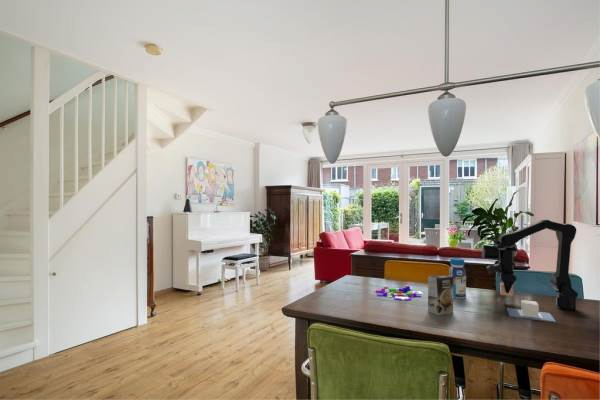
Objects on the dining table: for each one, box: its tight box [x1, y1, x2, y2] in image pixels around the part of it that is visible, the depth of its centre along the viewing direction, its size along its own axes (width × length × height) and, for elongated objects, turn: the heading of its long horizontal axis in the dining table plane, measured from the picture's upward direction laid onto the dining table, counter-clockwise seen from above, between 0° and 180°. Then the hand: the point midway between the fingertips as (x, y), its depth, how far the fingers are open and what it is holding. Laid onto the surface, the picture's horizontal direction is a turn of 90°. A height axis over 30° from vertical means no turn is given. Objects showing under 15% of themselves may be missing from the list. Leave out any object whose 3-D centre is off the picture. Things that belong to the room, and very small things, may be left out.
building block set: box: [375, 284, 424, 302], centre depth 175 cm, size 25×20×4 cm
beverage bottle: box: [448, 257, 467, 300], centre depth 172 cm, size 8×8×20 cm
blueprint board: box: [506, 307, 557, 323], centre depth 142 cm, size 16×12×1 cm
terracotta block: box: [499, 282, 514, 297], centre depth 160 cm, size 5×5×5 cm
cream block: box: [520, 299, 540, 317], centre depth 143 cm, size 6×6×5 cm
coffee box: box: [427, 274, 454, 316], centre depth 146 cm, size 9×6×16 cm
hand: (506, 291), depth 160 cm, fingers closed on terracotta block, 5 cm apart
